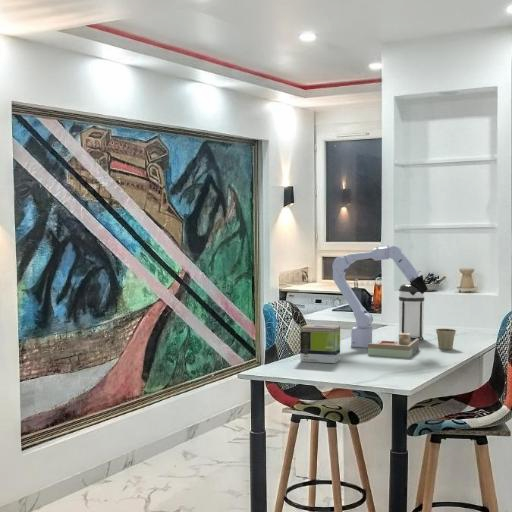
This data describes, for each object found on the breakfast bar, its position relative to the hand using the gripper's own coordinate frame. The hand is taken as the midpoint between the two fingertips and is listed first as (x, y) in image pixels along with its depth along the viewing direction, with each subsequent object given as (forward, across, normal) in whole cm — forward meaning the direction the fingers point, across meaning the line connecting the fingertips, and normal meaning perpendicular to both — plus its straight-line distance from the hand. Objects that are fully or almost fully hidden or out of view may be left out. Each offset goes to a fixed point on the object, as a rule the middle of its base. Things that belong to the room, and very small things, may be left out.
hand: (425, 291), depth 360 cm
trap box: (+13, -2, +28) cm, 31 cm away
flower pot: (+27, +11, +7) cm, 30 cm away
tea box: (-2, -29, +57) cm, 64 cm away
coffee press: (+14, +40, +14) cm, 45 cm away
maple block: (+13, +2, +21) cm, 25 cm away
